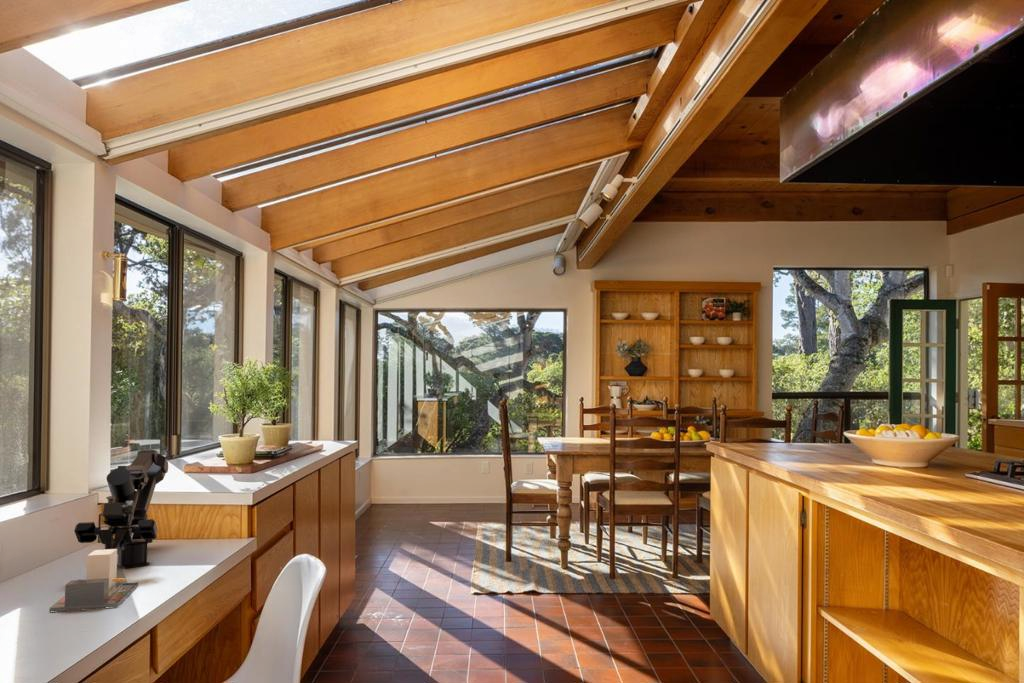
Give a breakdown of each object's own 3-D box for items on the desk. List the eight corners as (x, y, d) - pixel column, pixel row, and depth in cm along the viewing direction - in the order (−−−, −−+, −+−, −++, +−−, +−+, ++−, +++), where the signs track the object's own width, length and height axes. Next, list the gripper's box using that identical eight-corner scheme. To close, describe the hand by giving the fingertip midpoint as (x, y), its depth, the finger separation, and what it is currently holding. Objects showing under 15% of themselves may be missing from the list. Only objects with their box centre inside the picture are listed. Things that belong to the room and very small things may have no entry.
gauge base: (76, 590, 177) (77, 566, 178) (138, 586, 181) (138, 562, 181) (49, 612, 160) (50, 585, 160) (117, 607, 164) (118, 581, 164)
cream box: (82, 587, 176) (84, 550, 176) (126, 584, 178) (128, 548, 179) (74, 594, 170) (75, 556, 170) (120, 591, 172) (121, 553, 173)
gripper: (78, 491, 184) (61, 543, 173) (156, 488, 189) (144, 539, 177) (87, 516, 191) (71, 568, 180) (162, 513, 196) (151, 563, 185)
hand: (109, 559), depth 180 cm, fingers closed
